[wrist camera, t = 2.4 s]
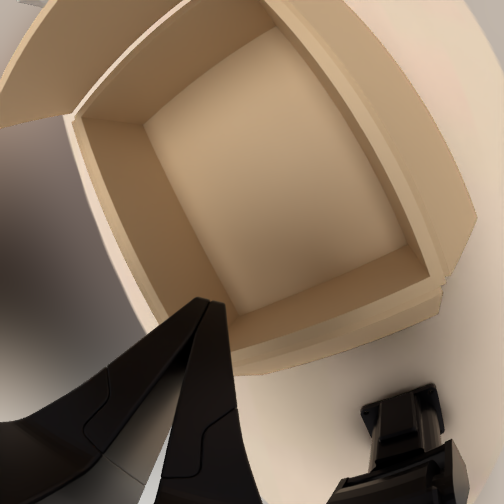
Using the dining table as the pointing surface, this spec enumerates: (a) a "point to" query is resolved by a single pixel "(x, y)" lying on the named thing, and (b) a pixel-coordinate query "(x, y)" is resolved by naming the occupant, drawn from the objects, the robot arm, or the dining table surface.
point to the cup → (34, 2)
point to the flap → (70, 54)
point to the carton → (276, 178)
